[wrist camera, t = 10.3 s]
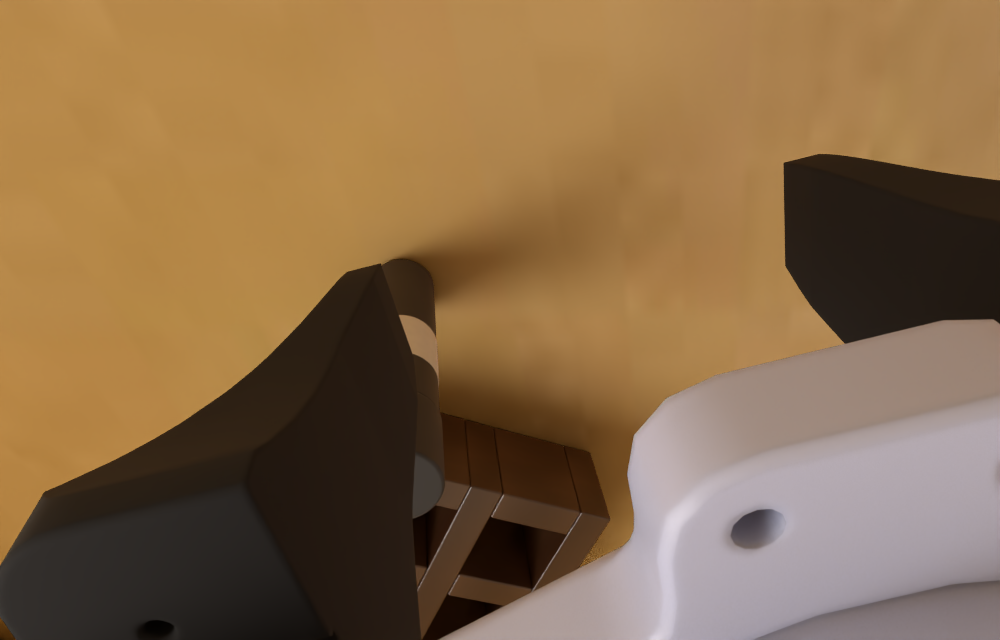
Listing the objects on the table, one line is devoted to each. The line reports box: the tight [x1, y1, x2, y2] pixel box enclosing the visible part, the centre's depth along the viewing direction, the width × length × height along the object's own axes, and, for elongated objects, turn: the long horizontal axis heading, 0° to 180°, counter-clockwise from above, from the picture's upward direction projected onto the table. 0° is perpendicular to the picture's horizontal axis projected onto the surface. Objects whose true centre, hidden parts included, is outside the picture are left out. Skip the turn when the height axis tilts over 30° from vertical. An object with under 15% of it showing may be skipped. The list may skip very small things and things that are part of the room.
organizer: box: [413, 413, 610, 640], centre depth 29 cm, size 10×14×4 cm
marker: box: [382, 259, 445, 518], centre depth 20 cm, size 2×2×10 cm
